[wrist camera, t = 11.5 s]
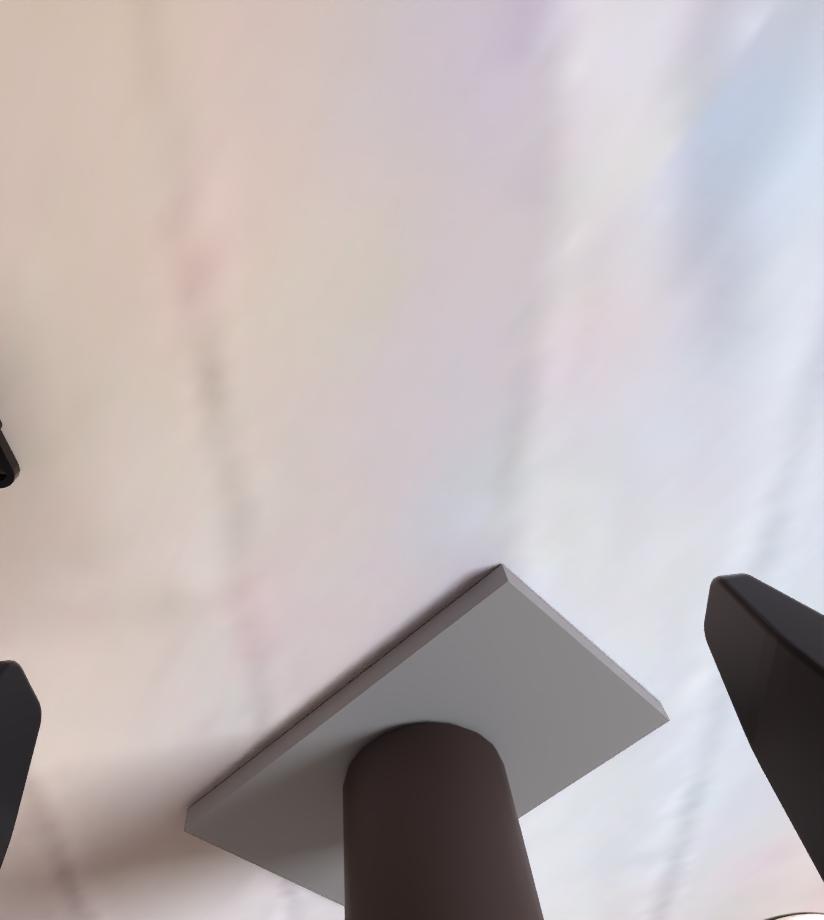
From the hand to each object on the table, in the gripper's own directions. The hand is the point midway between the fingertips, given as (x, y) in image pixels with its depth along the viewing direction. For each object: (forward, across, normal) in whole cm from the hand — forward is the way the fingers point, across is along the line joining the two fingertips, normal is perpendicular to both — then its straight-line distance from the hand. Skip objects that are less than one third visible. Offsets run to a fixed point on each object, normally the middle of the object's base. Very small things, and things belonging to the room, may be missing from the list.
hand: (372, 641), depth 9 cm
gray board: (+13, 0, +19) cm, 23 cm away
